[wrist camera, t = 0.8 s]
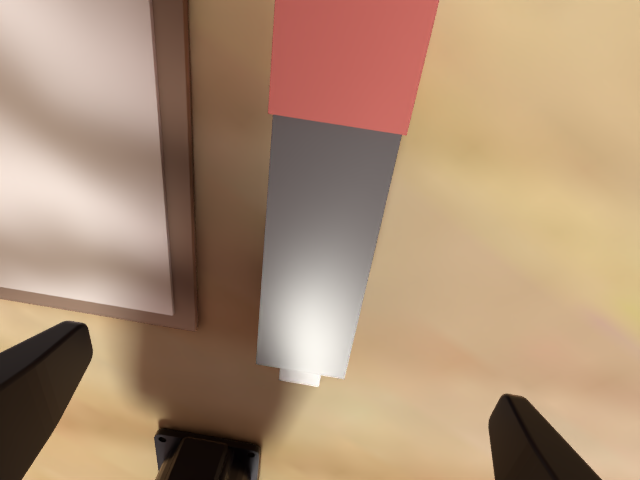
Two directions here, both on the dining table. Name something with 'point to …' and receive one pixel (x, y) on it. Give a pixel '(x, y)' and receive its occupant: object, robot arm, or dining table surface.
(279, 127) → the marker
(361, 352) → the dining table surface
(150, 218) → the picture frame
